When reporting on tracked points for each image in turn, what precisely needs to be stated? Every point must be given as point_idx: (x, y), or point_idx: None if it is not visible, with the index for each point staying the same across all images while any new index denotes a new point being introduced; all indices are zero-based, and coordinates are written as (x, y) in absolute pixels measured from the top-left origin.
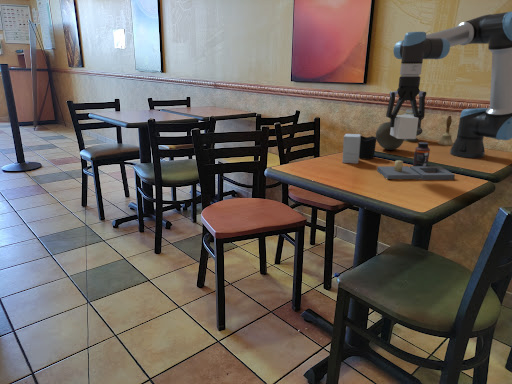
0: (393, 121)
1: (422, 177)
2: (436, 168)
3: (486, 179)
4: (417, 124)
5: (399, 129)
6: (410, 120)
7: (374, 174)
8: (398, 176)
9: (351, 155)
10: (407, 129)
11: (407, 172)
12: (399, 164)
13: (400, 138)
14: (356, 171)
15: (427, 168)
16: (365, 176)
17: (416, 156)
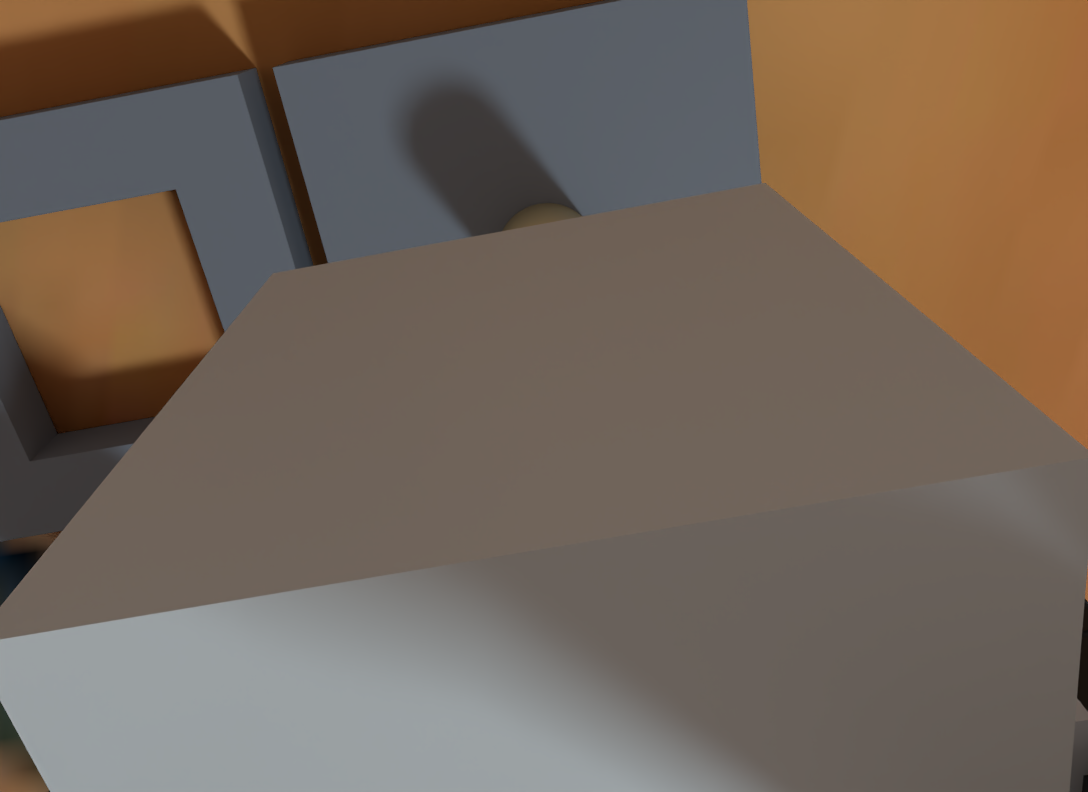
0: (1081, 699)
1: (245, 71)
2: (31, 455)
3: None
4: (128, 462)
5: (838, 261)
6: (447, 490)
7: (835, 224)
8: (582, 6)
9: None
10: (536, 312)
11: (433, 176)
12: None
13: (695, 200)
14: (1031, 323)
15: None
16: (982, 109)
17: None
